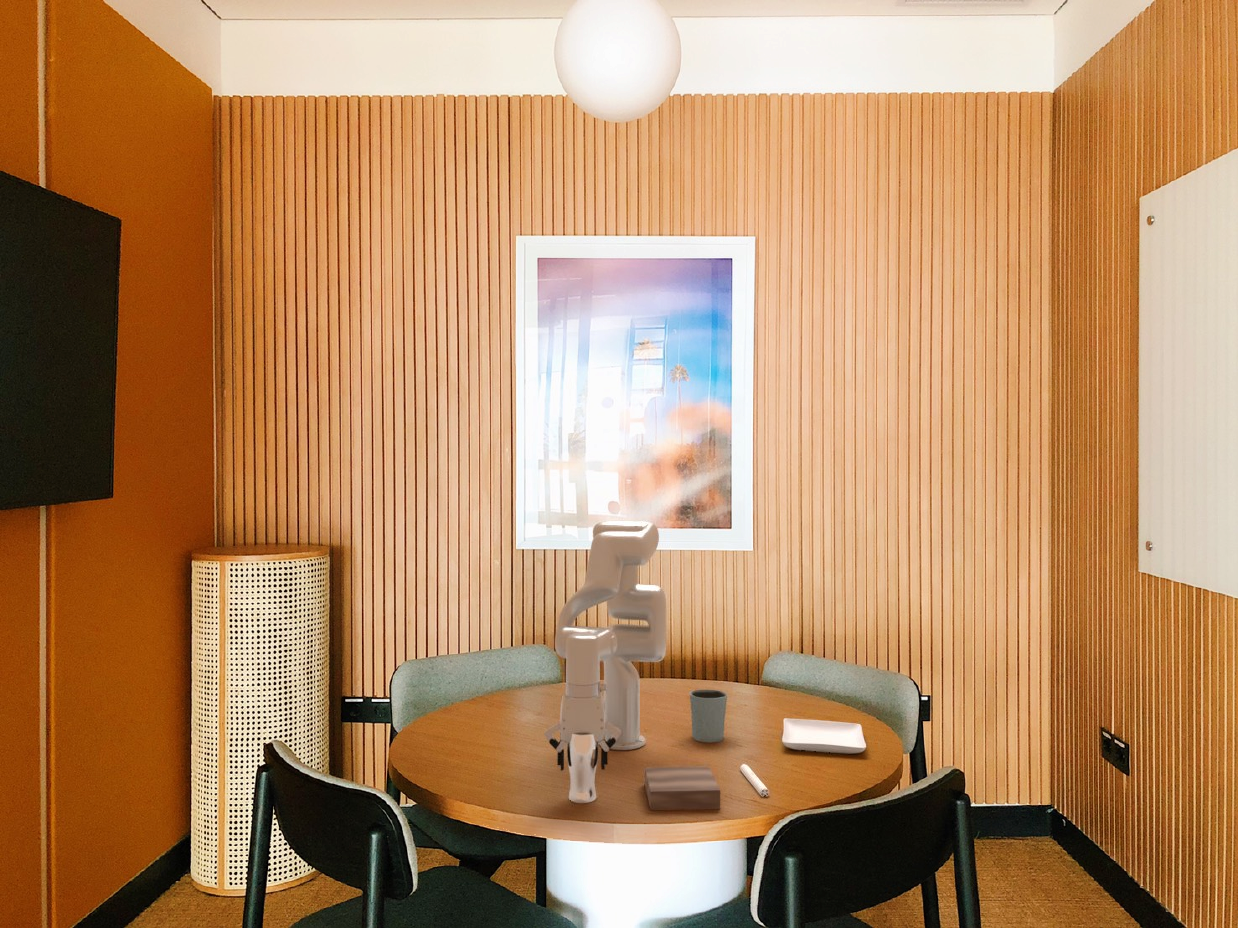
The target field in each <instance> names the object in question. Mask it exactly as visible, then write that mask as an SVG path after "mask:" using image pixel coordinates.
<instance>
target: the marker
mask: <svg viewBox="0 0 1238 928" xmlns="http://www.w3.org/2000/svg"><path fill="white" fill-rule="evenodd" d="M740 771H741V773H742V774H743V775H744V776H745V778H746V779H747V780H748V782H749V783H750V784H751V785H752V787H753V789H755V790H756V792H757V793H758V794H759V795H760V796H761V797H762V798H763V797H764V796H765V795H766V796H765V797H769V795H770V790H769V789H768V788H767V787H766V785H765V784H764V783H763V782H762V781H761V780H760V778H759V777H758V776H757V775H756V774H755V772H754V771H753V770H752V769H751V768H750V766H749V765H747V764H745V763H743V764H742V765H740Z"/></svg>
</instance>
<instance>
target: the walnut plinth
mask: <svg viewBox="0 0 1238 928" xmlns="http://www.w3.org/2000/svg"><path fill="white" fill-rule="evenodd" d="M644 787H646V788H645V792H646V797H647V796H648V797H647V800H649V801H648V805H649V808H650V811H675V810H676V811H678V810H679V811H685V810H720V809H721V789H720V787H719V785H718V783H717V780H716V778H715V776H714V774H713V772H712V770H711V768H710V766H709V765H708V766H707V765H706V766H701V765H700V766H654V767H653V766H652V767H651V766H649V767H648V766H646V767H644Z"/></svg>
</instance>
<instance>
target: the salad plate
mask: <svg viewBox="0 0 1238 928" xmlns="http://www.w3.org/2000/svg"><path fill="white" fill-rule="evenodd" d="M782 721H783V732H782V733H783V734H782V736H781V737H782V738H781V741H782V742H781V743H783V745H784V746H785V747H786V748H788V749H792V750H796V751H801V750H805V752H814V751H816V752H817V753H829V752H830V754H831V753H833V754H846V755H847V754H848V755H849V754H859V753H862V752H864V751H865V750H866V749H867V744H866V740H865V737H864V733H863V728H862V724H860V723H854V722H853V723H852V722H844V721H843V722H842V721H831V720H822V719H821V720H818V719H805V718H804V719H803V718H800V719H799V718H787V717H785V718H783V720H782Z"/></svg>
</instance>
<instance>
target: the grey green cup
mask: <svg viewBox="0 0 1238 928" xmlns="http://www.w3.org/2000/svg"><path fill="white" fill-rule="evenodd" d="M689 700H690V701H689V702H690V711H691V712H690V713H691V716H690V717H691V718H690V719H691V734H692V736H691V737H692V739H693V740H695V741H697V742H700V743H707V744H708V743H717V742H718V743H719V742H721V741H723V740H724V736H725V732H724V731H725V721H726V720H725V719H726V713H727V711H726V710H727V707H726V706H727V701H728V694H727V693H726V692H724V691H721V690H717V689H697V690H695V689H694V690H692V691H690V692H689Z"/></svg>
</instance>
